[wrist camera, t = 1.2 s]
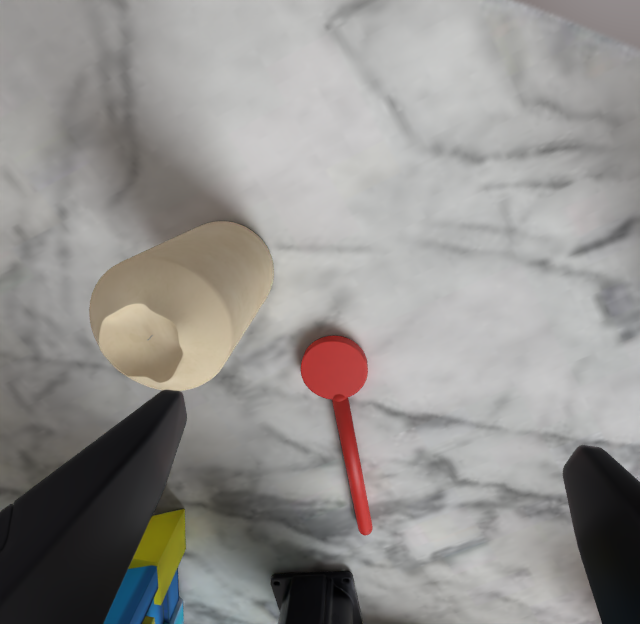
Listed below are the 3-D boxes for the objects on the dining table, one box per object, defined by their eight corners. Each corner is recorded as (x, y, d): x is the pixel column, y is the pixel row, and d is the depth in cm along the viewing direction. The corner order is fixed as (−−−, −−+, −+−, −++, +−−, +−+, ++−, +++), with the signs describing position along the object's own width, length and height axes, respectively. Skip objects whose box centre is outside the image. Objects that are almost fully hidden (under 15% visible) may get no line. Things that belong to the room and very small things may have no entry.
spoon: (393, 524, 29) (394, 537, 28) (339, 528, 30) (338, 540, 29) (362, 331, 24) (362, 338, 23) (296, 339, 24) (294, 347, 23)
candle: (248, 203, 22) (165, 241, 12) (290, 294, 23) (246, 387, 14) (163, 242, 23) (30, 303, 14) (209, 325, 24) (119, 430, 15)
